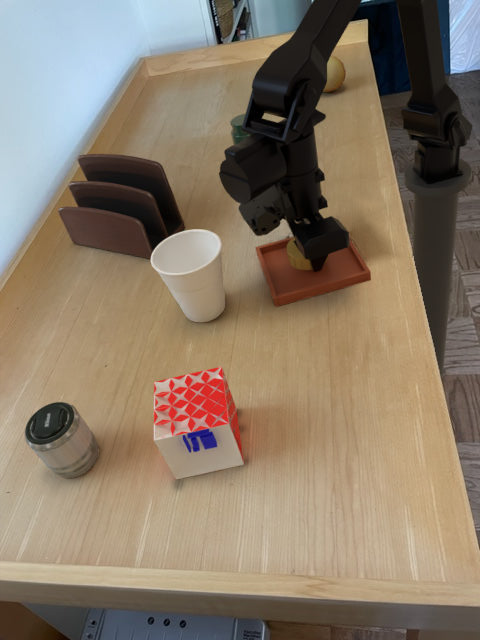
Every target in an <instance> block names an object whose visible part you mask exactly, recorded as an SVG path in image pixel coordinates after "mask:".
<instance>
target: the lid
mask: <svg viewBox="0 0 480 640" xmlns="http://www.w3.org/2000/svg"><path fill="white" fill-rule="evenodd" d="M293 241H295V237H294V238H293V239H291V240H290V241H289V243H288V244H287V256H288V260H289V263H290V265H292V266H293V267H294V268H296V269H300V270H312V266H311V263H310V261H309V260H307V259H305V258H304V256H303V255H302V253H301V252H300V251H299V250H298V248H297V246H296V245H295V243H294V242H293ZM328 259H329V255H328V257H327V259H326V261H325V263H326V262H327V260H328ZM325 263H324V264H325Z"/></svg>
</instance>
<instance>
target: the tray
mask: <svg viewBox="0 0 480 640" xmlns="http://www.w3.org/2000/svg"><path fill="white" fill-rule="evenodd" d="M293 238H294V237H293V236H291V237H287V238H284V239H283V238H282V239H280V240H276V241H272V242H269V243H265V244H262V245H259V246H255V247H254V249H255V253H256V256H257V259H258V262H259V265H260V268H261V270H262V273H263V276H264V279H265V281H266V284H267V287H268V289H269V293H270V296H271V298H272V300H273V303H274V307H280V306H283V305H287V304H291V303H294V302H298V301H301V300H305V299H309V298H312V297H316V296H320V295H324V294H327V293H331V292H334V291H337V290H341V289H345V288H349V287H352V286H356V285H359V284H362V283H366V282H370V281H372V273H371V270H370V268H369V267H368V265H367V263H366V261H365V260H364V258H363V257H362V255H361V253H360V251H358V249H357V247H356V245H355V244H354V242H353V241H352V239H351V237H350V236H349V240H350V244H349V246H348V248H345V249H342V250H339V251H336V252H333V253H330V254H329V259H328V260H327V262H326V263H325V264H324V265H323V267H322V269H321V270H320V271H318V272H314V271H313V269H312V270H300V269H296V268H294V267H293V266H292V265H290V263H289V260H288V256H287V244H288V243H289V241H290V240H291V239H293Z"/></svg>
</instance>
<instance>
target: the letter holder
mask: <svg viewBox="0 0 480 640" xmlns="http://www.w3.org/2000/svg"><path fill="white" fill-rule="evenodd" d="M77 162H78V163H77V164H78V165H79V166H80V169H81V171H82V174H83V175H84V177H85V179H86V180H77V181H76V180H74V181H70V182H69V183H68V189H69V192H70V193H71V196H72V198H73V200H74V202H75V203H76V206H61V207H59V208H58V209H57V213H58V216H59V217H60V220H61V221H62V223H63V226H64V228H65V230H66V232H67V234H68V236H69V238H70V240H71V242H72V243H73V244H76V245H81V246H85V247H90V248H96V249H100V250H104V251H110V252H116V253H120V254H125V255H130V256H135V257H139V258H145V259H150V260H151V255H152V252H153V251H154V249H155V248H156V247H157V246H158V245H159V244H160V243H161V242H162V241H163V240H165V239H166V238H168V237H170V236H172V235H174V234H176V233H179V232H182V231H184V229H185V227H186V225H185V222H184V219H183V217H182V214H181V212H180V209H179V206H178V204H177V201H176V198H175V194H174V192H173V189H172V187H171V185H170V182H169V180H168V177H167V174H166V172H165V169H164V166H163V165H162V164H161V163H160V162H159V161H156V160H153V159H148V158H147V159H146V158H143V157H138V156H134V155H133V156H132V155H125V154H115V153H113V154H112V153H111V154H110V153H87V154H80V155H78V156H77Z"/></svg>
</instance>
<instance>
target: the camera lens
mask: <svg viewBox="0 0 480 640" xmlns="http://www.w3.org/2000/svg"><path fill="white" fill-rule="evenodd" d="M24 441H25V443H26V444H27V445H28V446H29V447H30V449H31V450H32V452H34V453H35V454H36V456H37V457H38V458H39V459H40V460H41V461H42V462H43V463H44V465H45V467H47V469H48V470H49V471H51V472H53V474H55V475H57V476H59V477H61V478H63V479H74V478H79V477H80V476H82V475H85V474H86V473H87V472H88V471H89V470H91V468H92V467H93V466H94V465H95V463H96V462H97V460H98V457H99V450H100V446H99V444H98V441H97V439H96V436H95V434H94V432H93V430H92V429H91V427H90V426H89V425H88V424H87V422H86V421H85V419H84V418H83V417H82V415H81V413H80V412H79V411H78V409H77V407H75V406H74V405H73V404H71V403H69V402H66V401H65V402H64V401H56V402H51V403H49V404H46V405H43V406H42V407H41V408H39V409H38V410H36V411H35V412H34V413H33V414H32V415H31V417H30V418H29V419H28V421H27V423H26V425H25V429H24Z"/></svg>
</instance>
